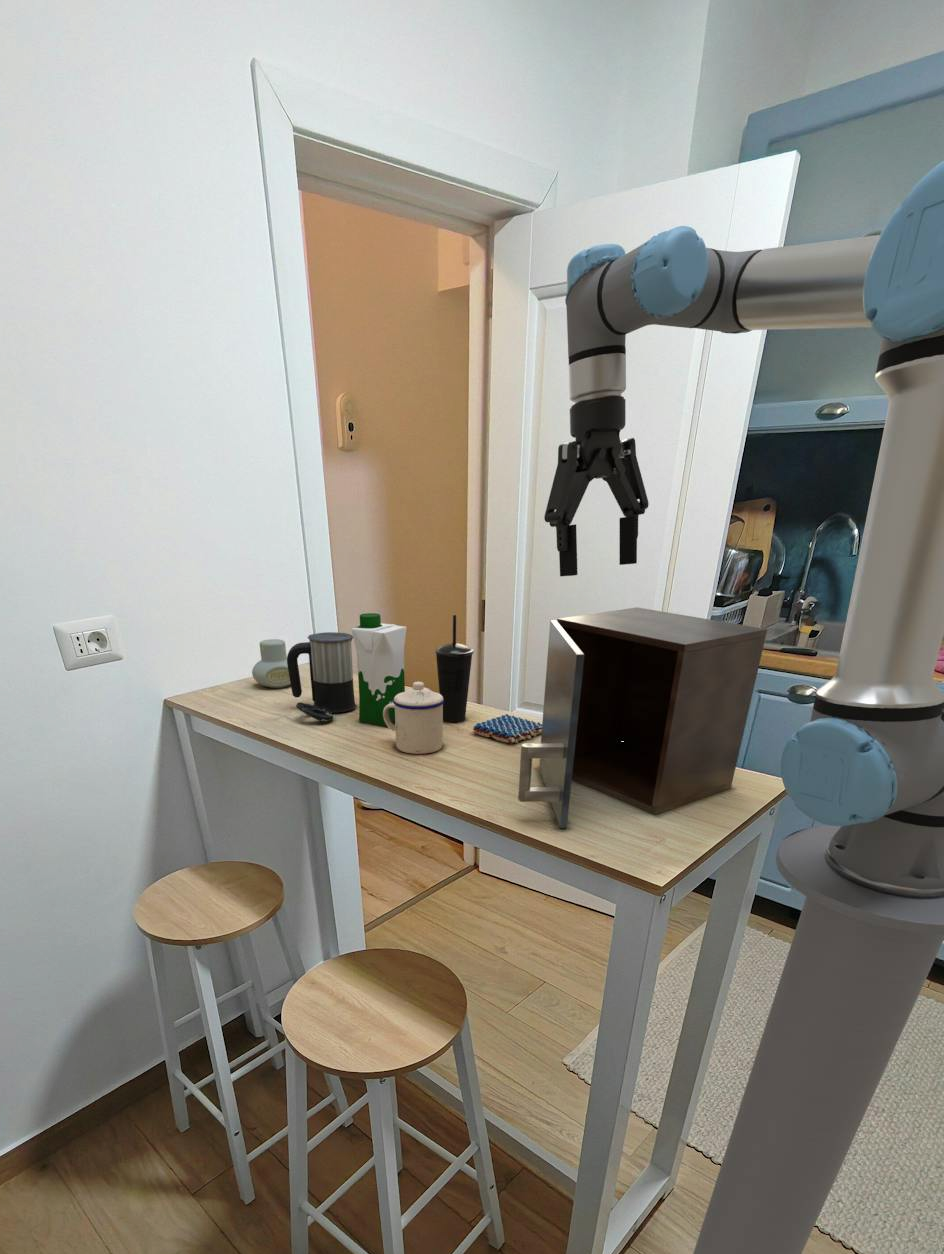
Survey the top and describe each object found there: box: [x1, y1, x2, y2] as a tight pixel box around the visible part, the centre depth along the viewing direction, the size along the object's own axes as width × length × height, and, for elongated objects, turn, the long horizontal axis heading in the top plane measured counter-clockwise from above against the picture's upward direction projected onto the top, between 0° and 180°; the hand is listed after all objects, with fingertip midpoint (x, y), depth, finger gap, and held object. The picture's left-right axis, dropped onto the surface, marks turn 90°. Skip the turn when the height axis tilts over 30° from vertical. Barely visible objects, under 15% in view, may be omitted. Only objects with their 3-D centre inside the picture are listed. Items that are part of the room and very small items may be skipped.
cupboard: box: [556, 607, 768, 816], centre depth 111 cm, size 18×24×24 cm
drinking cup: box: [434, 614, 475, 724], centre depth 140 cm, size 8×8×20 cm
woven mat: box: [472, 713, 542, 744], centre depth 137 cm, size 10×11×2 cm
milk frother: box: [286, 631, 357, 723], centre depth 146 cm, size 14×16×15 cm
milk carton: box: [351, 612, 407, 728], centre depth 140 cm, size 9×9×20 cm
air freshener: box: [251, 638, 291, 689], centre depth 167 cm, size 11×8×10 cm
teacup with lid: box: [383, 681, 444, 755], centre depth 128 cm, size 12×9×12 cm
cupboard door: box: [517, 619, 585, 829], centre depth 104 cm, size 7×24×24 cm, turn 0°
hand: (599, 570), depth 107 cm, fingers open, 13 cm apart
